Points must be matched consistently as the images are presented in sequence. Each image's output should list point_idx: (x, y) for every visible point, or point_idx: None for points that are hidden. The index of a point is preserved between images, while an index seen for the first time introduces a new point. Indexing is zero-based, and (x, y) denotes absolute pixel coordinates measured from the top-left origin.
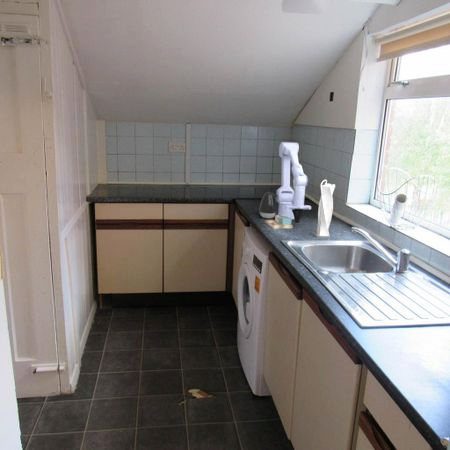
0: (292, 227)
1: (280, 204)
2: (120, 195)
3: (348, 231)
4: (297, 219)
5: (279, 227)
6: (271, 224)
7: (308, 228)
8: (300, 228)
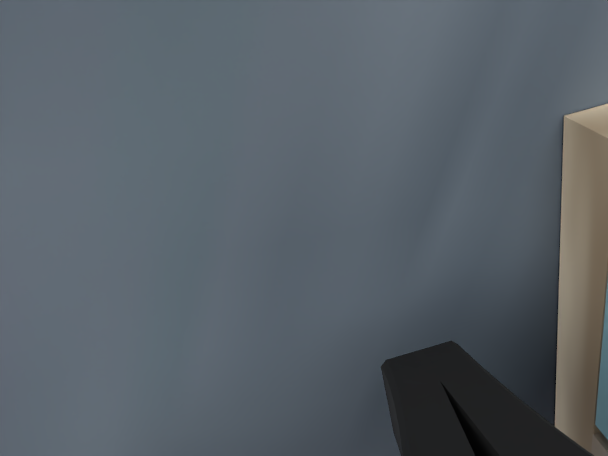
0: (581, 118)
1: None
2: None
3: None
4: (499, 414)
5: None
6: None
7: (77, 164)
8: (340, 123)
